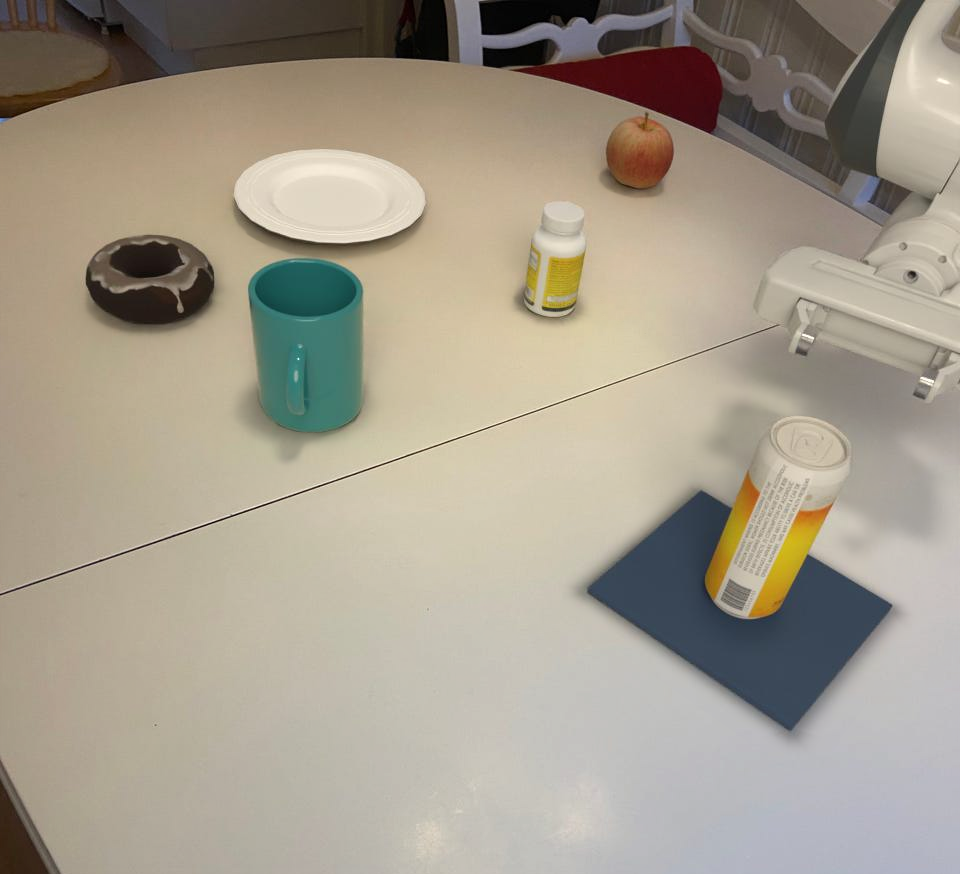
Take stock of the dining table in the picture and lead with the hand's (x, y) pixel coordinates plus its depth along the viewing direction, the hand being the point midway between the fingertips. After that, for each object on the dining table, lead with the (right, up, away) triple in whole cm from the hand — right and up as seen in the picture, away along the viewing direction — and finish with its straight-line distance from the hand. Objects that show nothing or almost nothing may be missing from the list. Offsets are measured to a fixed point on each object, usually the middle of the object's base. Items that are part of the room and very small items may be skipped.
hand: (861, 369), depth 70 cm
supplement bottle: (-21, +15, +28) cm, 38 cm away
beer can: (-8, -16, +4) cm, 19 cm away
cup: (-43, 0, +14) cm, 45 cm away
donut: (-59, +13, +23) cm, 65 cm away
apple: (-9, +36, +47) cm, 60 cm away
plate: (-44, +28, +36) cm, 64 cm away
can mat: (-8, -17, +4) cm, 19 cm away
